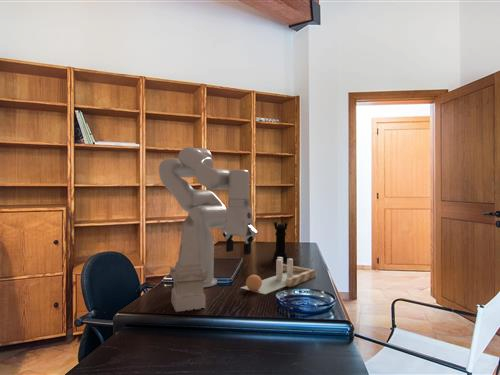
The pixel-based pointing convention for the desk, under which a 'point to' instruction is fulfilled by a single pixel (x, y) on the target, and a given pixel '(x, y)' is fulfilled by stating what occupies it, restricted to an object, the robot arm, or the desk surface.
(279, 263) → the pin front
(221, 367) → the desk surface
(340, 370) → the desk surface
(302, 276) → the backstop
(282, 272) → the pin
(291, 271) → the pin
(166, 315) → the desk surface
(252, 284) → the ball
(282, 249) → the chess piece
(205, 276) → the miniature monument
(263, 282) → the lane
